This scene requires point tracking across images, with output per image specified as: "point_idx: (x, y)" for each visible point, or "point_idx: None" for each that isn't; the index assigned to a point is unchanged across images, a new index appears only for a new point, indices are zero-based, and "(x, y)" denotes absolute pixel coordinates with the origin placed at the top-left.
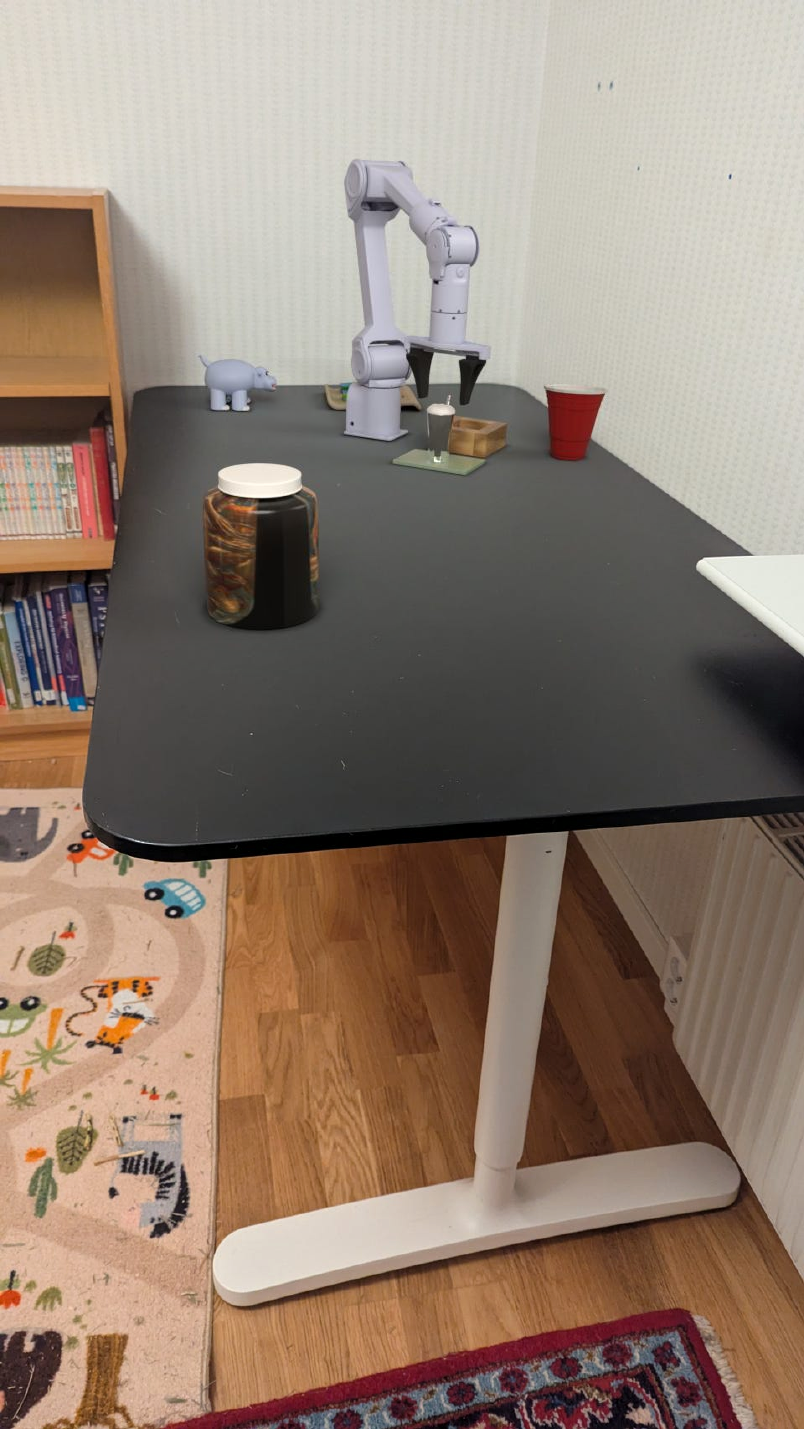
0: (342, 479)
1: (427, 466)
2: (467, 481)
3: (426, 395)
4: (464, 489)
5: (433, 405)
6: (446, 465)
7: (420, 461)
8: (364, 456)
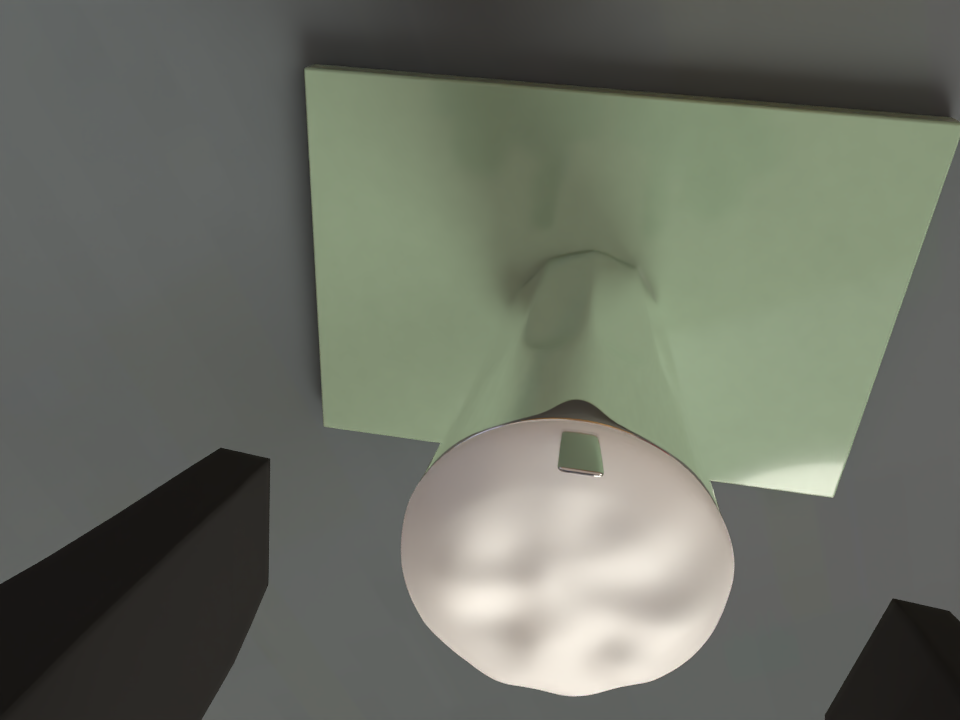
0: (277, 708)
1: None
2: (856, 579)
3: (258, 499)
4: None
5: (479, 659)
6: None
7: None
8: (113, 330)
